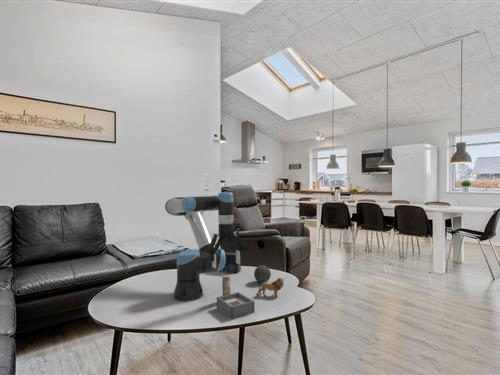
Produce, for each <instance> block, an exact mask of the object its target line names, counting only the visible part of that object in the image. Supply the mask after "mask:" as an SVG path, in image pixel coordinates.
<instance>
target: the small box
mask: <svg viewBox="0 0 500 375" xmlns="http://www.w3.org/2000/svg"><path fill="white" fill-rule="evenodd" d="M225 257H226V260H225V266H224V268H223V269H222V270H219V272H220V273H231V272H237V273H236V274H238V273H240V272H241V271H240V270H242V267H241V265H242V263H241V262H242V261H241V257H240V264H238V263H236V252H225Z"/></svg>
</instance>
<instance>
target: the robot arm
mask: <svg viewBox="0 0 500 375" xmlns="http://www.w3.org/2000/svg"><path fill="white" fill-rule="evenodd" d="M234 200H235V199H234V194H233V192H219V193H218V195H207V196H206V195H205V196H185V197H183V196H180V197H173V198H169V199H168V200H167V201H166V202H165V204H164V208H165V212H167V214H168V215H171V216H174V217H175V216H176V217H180V216H181V217H182V216H184V219H185V220H186V221H188V222H189V225H190V227H191V230H192V233H193V235H194V238H195V241H196V244H197V246H198V248H197V249H196V248H194V249H193V248H192V249H185V250H183V251H180V252H179V253H178V254H177V255H176V256H177V257H176V284H175V288H174V291H173V299H175V300H178V301H182V302H183V301H187V302H189V301H194V300H197V299H199V298H202V297H203V296H204V290H203V286H202V284H201V281H200V275H202V274H208V273H213V272H215V273H216V272H218V271H219V272H220V270H222V269H223V268H224V266H225V260H226V257H225V253H226V252H225V250H224V249H222V248H220V246H222V244H223V243H226V242H228V243H229V242H231V243H232V245H233V246H234V248H235V249H236V250H235V253H236V263H238V264H240V257H241V256H242V251H243V250H244V249H245V245H244V244H243V241H242V239H241V236H240V232H239V231H237V230H236V231H234ZM205 211H206V212H209V211H210V212H211V211H218V212H217V213H218V233H213V234H212V237H211V234H210V231H209V229H208V227H207V224H206V222H205V220H204V217H203V215H204V212H205ZM234 237H235V238H234ZM235 239H236V240H235ZM236 241H237V242H236Z"/></svg>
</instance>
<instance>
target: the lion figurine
mask: <svg viewBox="0 0 500 375" xmlns="http://www.w3.org/2000/svg"><path fill="white" fill-rule="evenodd" d="M284 284H285V282H284V278H282V277H278V278H277V279H276V280H275V281H273V282H272V283H269V282H264V283H260V285H259V287H258V291H257V293H256V294H255V295H263V297H267V295H266V293H265V292H266V290H268V291H271V292H272V291H273V295H274V296H275V297H276V296H278V297H279V295H278V291H280V290H281V289H282V288H283V287H284Z"/></svg>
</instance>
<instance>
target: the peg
mask: <svg viewBox="0 0 500 375" xmlns="http://www.w3.org/2000/svg"><path fill="white" fill-rule="evenodd" d="M221 279H222V282H221V283H222V287H221V288H222V296H225V295H229V294H232V293H231V276H230V275H223V276H222V278H221Z"/></svg>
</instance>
